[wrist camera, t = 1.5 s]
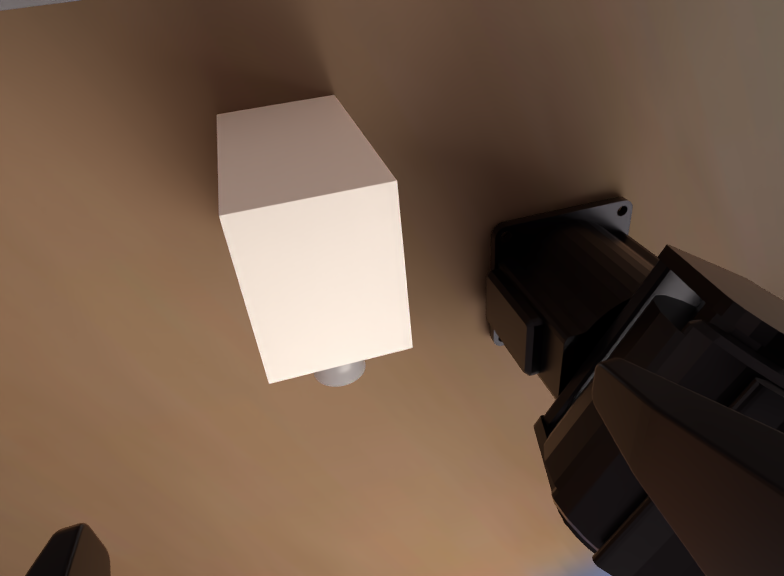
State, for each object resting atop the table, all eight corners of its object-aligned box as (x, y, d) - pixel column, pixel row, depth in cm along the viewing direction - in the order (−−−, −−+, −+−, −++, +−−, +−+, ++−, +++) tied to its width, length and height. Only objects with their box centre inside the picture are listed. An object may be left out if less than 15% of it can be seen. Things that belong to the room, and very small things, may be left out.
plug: (334, 94, 19) (396, 180, 13) (358, 253, 23) (415, 384, 16) (216, 114, 18) (219, 216, 12) (260, 275, 22) (280, 419, 16)
